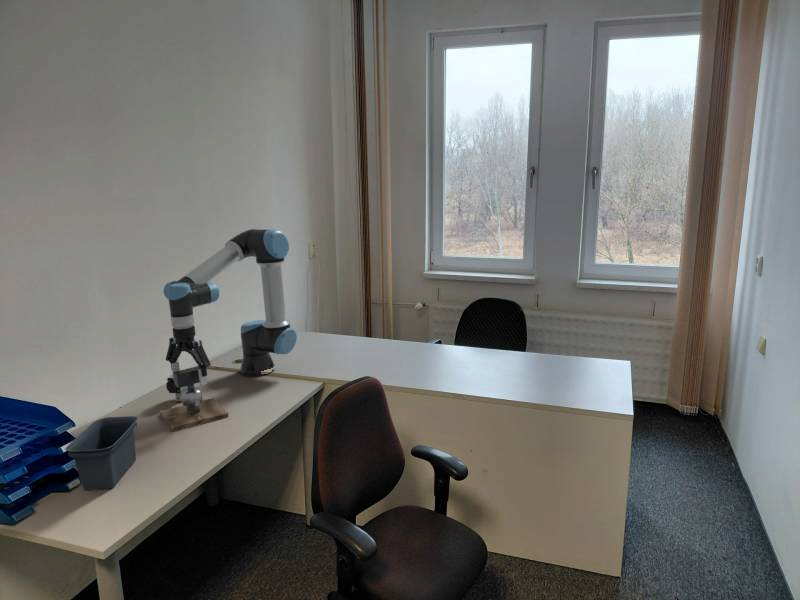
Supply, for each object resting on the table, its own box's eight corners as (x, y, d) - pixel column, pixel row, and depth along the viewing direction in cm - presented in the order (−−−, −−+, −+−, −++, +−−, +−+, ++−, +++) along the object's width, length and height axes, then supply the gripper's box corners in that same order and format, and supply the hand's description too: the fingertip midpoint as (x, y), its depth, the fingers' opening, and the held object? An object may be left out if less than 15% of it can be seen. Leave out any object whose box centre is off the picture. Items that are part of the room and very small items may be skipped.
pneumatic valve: (195, 394, 228) (192, 366, 226) (179, 406, 217) (175, 377, 214) (183, 394, 229) (179, 366, 227) (166, 405, 218) (162, 376, 215)
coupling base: (213, 401, 221) (212, 389, 220) (228, 416, 206) (227, 404, 205) (160, 414, 210) (158, 402, 208) (172, 431, 195) (170, 418, 194)
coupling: (174, 402, 207) (169, 370, 204) (200, 394, 214) (196, 363, 211) (184, 410, 200) (180, 377, 197) (211, 402, 206) (207, 370, 203)
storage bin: (117, 494, 157) (110, 448, 154) (61, 497, 157) (53, 450, 153) (147, 457, 178) (141, 415, 175) (98, 459, 177) (91, 417, 174)
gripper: (216, 327, 198) (222, 383, 203) (167, 320, 209) (174, 373, 214) (200, 332, 191) (207, 390, 196) (150, 325, 203) (158, 380, 207)
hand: (190, 381), depth 205 cm, fingers open, 13 cm apart
